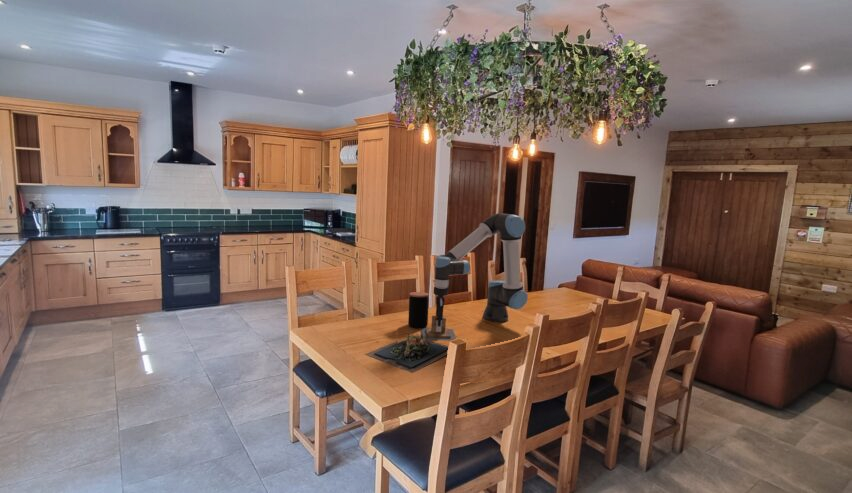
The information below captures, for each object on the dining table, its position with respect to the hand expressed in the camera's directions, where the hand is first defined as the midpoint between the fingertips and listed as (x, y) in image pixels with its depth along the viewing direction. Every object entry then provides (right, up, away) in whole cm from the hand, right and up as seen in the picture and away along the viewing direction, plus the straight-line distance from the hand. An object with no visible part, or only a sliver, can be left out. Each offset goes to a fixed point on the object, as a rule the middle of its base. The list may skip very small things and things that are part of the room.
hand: (438, 330), depth 232 cm
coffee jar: (-11, 0, +12) cm, 16 cm away
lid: (0, -2, 0) cm, 2 cm away
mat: (0, -3, 0) cm, 3 cm away
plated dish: (-13, -5, -25) cm, 29 cm away
